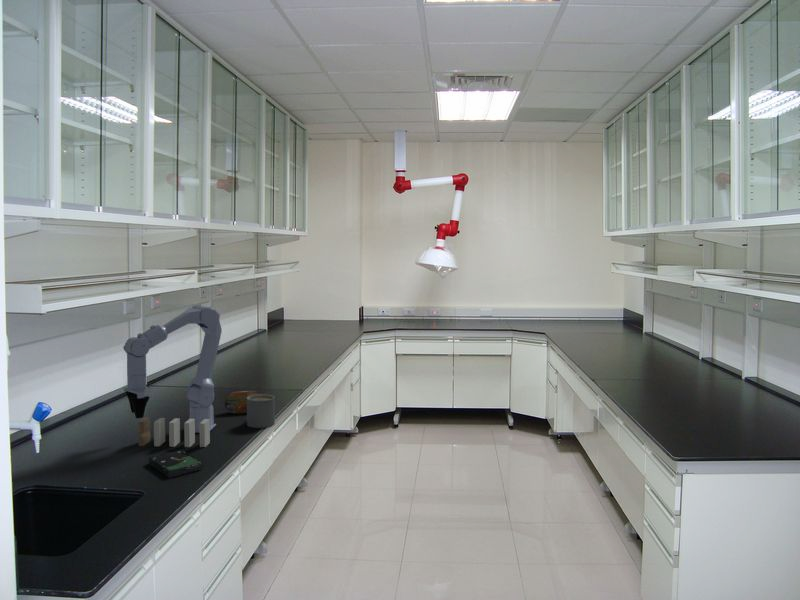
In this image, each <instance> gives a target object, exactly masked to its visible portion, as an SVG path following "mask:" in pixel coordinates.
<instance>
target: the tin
mask: <svg viewBox="0 0 800 600" xmlns="http://www.w3.org/2000/svg"><path fill="white" fill-rule="evenodd" d="M256 394H262V393H261V392H259V391H258V390H244V391H243V390H241V391H232V392H230V393H229V394H227V395H226V396H225V398H224V401H223V402H224V407H225V410H226V411H227V412H228V413H230V414H233V415H234V414H235V413H237V414H244V413H245V414H247V397H248V396H251V395H256Z"/></svg>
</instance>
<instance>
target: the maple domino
mask: <svg viewBox="0 0 800 600" xmlns="http://www.w3.org/2000/svg"><path fill="white" fill-rule="evenodd" d="M137 424H138V446H139V447H144V446H146V445H148V443H149V442H151V417H143V418H141V420H139V421H138V423H137Z"/></svg>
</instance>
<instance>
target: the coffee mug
mask: <svg viewBox="0 0 800 600" xmlns="http://www.w3.org/2000/svg"><path fill="white" fill-rule="evenodd" d="M275 399H276V398H275V396H274V395H273V394H268V393H264V394H263V393H261V394H256V395H251V396H248V397H247V413H246V426H247V427H249V428H252V429H253V428H255V429H264V428H271V427H272V426H274V425H275V420H276V419H275V418H276V416H275V415H276V414H275V413H276V411H275V410H276V409H275V407H276V406H275V405H276V404H275Z"/></svg>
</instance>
